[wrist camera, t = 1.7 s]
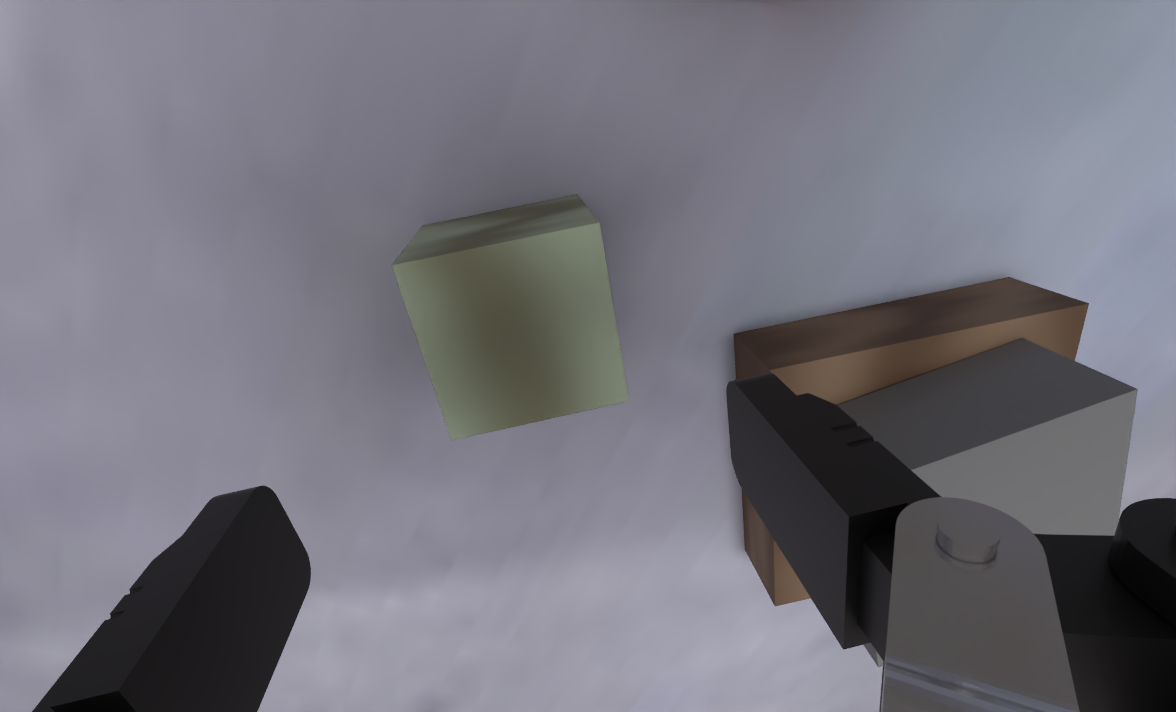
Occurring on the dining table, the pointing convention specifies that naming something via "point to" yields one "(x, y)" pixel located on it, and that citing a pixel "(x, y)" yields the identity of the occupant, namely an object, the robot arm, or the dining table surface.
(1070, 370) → the top slab
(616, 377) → the green cube
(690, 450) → the dining table surface
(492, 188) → the dining table surface
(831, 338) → the bottom slab
